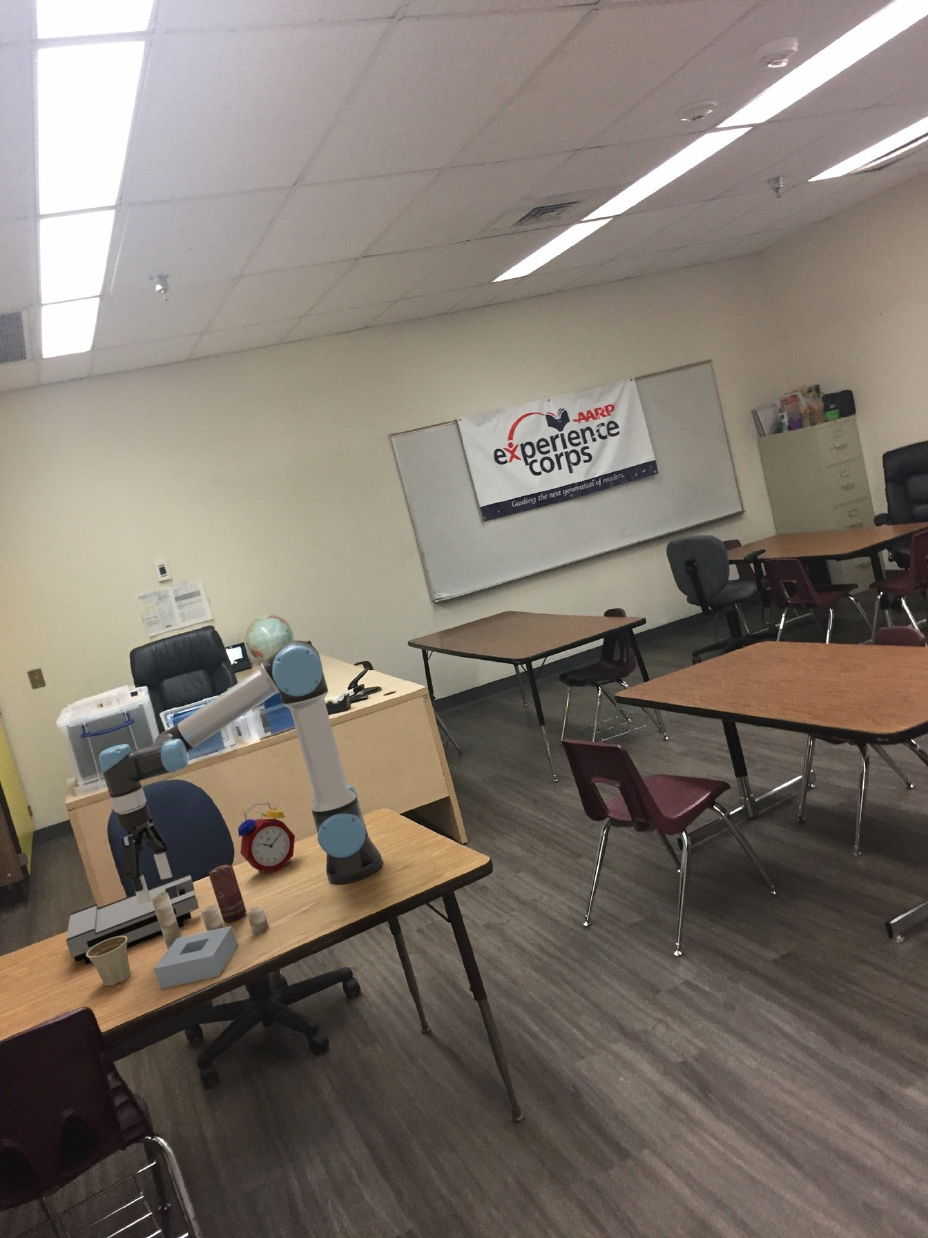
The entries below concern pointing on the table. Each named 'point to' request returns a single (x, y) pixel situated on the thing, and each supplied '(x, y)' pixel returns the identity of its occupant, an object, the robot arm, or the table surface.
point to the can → (227, 892)
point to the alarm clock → (266, 841)
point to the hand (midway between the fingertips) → (156, 889)
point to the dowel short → (257, 920)
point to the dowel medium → (212, 918)
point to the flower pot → (111, 960)
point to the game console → (128, 918)
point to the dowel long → (166, 918)
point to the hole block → (196, 957)
